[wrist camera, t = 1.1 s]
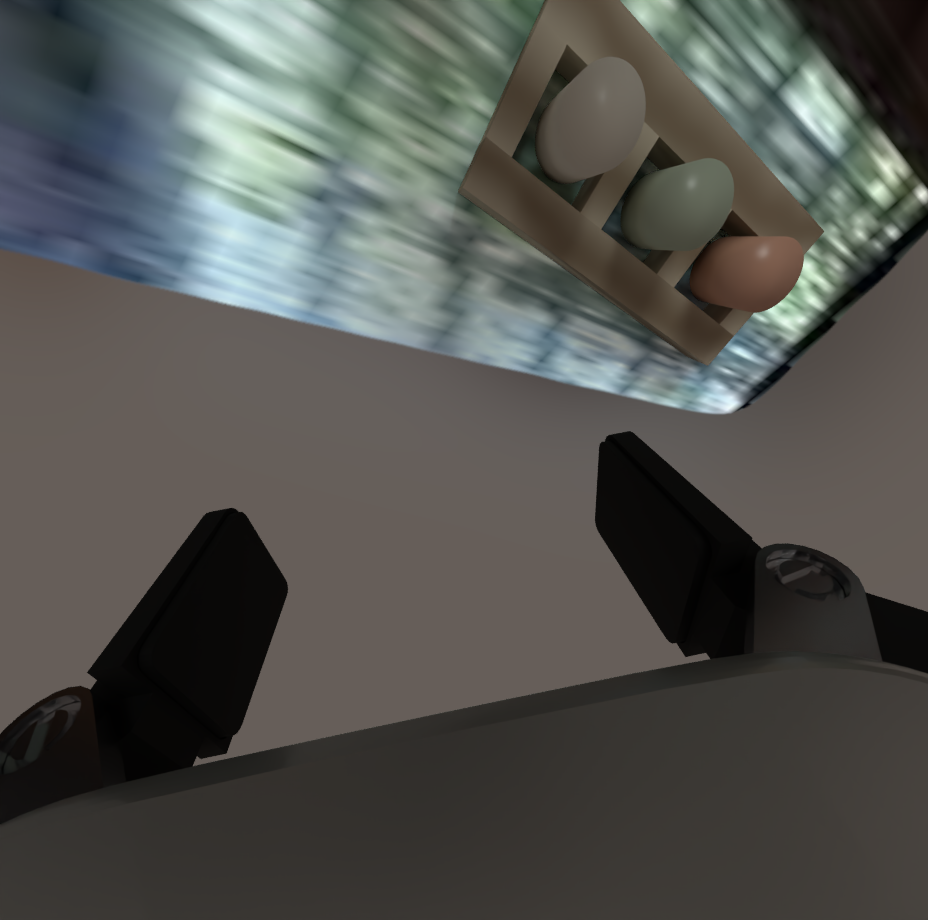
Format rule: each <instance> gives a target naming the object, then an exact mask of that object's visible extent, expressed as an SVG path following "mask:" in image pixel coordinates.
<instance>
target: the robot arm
mask: <svg viewBox="0 0 928 920" xmlns="http://www.w3.org/2000/svg"><path fill="white" fill-rule="evenodd" d="M595 523H596V527H597V530H598V532H599V533H600V535H601V537H602V538H603V540H604V541H605V543H606V544H607V546H608V548H609V549H610V551H611V552H612V554H613V556H614V557H615V559H616V560H617V562H618V563H619V565H620V567H621V568H622V570H623V571H624V573H625V574H626V576H627V578H628V579H629V581H630V582H631V584H632V585H633V587H634V589H635V590H636V592H637V593H638V595H639V597H640V598H641V599H642V601H643V603H644V604H645V606H646V607H647V609H648V611H649V612H650V614H651V615H652V617H653V619H654V620H655V622H656V623H657V625H658V626H659V628H660V630H661V631H662V633H663V634H664V636H665V637H666V639H667V640H668V641H669V642H671V643H677V644H678V646H679V648H680V649H681V651H682V652H683V654H684V655H685V657H688V656H692V655H697V654H702V653H707V655H708V656H709V657H710V660H703V661H698V662H693V663H688V664H682V665H677V666H671V667H666V668H661V669H656V670H650V671H644V672H639V673H633V674H629V675H624V676H619V677H614V678H609V679H604V680H599V681H595V682H589V683H585V684H580V685H575V686H570V687H565V688H560V689H555V690H550V691H545V692H541V693H536V694H531V695H526V696H521V697H516V698H511V699H506V700H502V701H497V702H492V703H487V704H482V705H478V706H473V707H468V708H463V709H459V710H454V711H449V712H444V713H440V714H435V715H430V716H425V717H421V718H416V719H411V720H406V721H402V722H397V723H392V724H388V725H383V726H378V727H374V728H369V729H364V730H359V731H354V732H350V733H345V734H340V735H335V736H331V737H326V738H321V739H317V740H312V741H307V742H303V743H298V744H294V745H289V746H284V747H280V748H275V749H270V750H266V751H261V752H257V753H252V754H248V755H243V756H238V757H234V758H229V759H224V760H220V761H215V762H211V763H206V764H201V765H197V766H193V764H194V761H195V759H196V756H198V757H199V758H201V759H203V758H207V757H212V756H217V755H222V754H226V753H227V751H228V748H229V745H230V742H231V739H232V737H233V735H235V734H236V733H237V732H238V731H239V729H240V728H241V725H242V723H243V720H244V717H245V714H246V711H247V709H248V706H249V703H250V700H251V697H252V694H253V691H254V688H255V686H256V682H257V680H258V677H259V674H260V671H261V668H262V665H263V663H264V660H265V657H266V654H267V651H268V648H269V645H270V642H271V639H272V636H273V634H274V631H275V628H276V625H277V622H278V619H279V617H280V614H281V611H282V608H283V605H284V602H285V599H286V596H287V593H288V585H287V582H286V580H285V578H284V576H283V575H282V573H281V571H280V570H279V568H278V566H277V565H276V563H275V562H274V560H273V558H272V557H271V555H270V553H269V552H268V550H267V549H266V547H265V545H264V544H263V542H262V540H261V539H260V537H259V536H258V534H257V532H256V531H255V530H254V527H253V526H252V524H251V522H250V521H249V519H248V518H247V516H246V515H245V514H244V513H243V512H238V511H237V510H236V509H234V508H229V509H223V510H218V511H213V512H209V513H206V514H205V515H204V516H203V518H202V519H201V520H200V522H199V523H198V524H197V526H196V527H195V528H194V530H193V531H192V532H191V534H190V535H189V536H188V538H187V539H186V540H185V542H184V543H183V544H182V546H181V547H180V549H179V550H178V551H177V552H176V554H175V555H174V557H173V558H172V559H171V561H170V562H169V563H168V565H167V566H166V567H165V569H164V570H163V571H162V573H161V574H160V575H159V577H158V578H157V579H156V581H155V582H154V584H153V585H152V586H151V587H150V589H149V590H148V591H147V593H146V594H145V595H144V597H143V598H142V599H141V601H140V602H139V604H138V605H137V606H136V608H135V609H134V610H133V612H132V613H131V614H130V616H129V617H128V618H127V620H126V621H125V622H124V624H123V625H122V627H121V628H120V629H119V630H118V632H117V633H116V635H115V636H114V637H113V638H112V640H111V641H110V642H109V644H108V645H107V647H106V648H105V649H104V651H103V652H102V653H101V655H100V656H99V657H98V659H97V660H96V661H95V663H94V664H93V665H92V667H91V668H90V669H89V671H88V672H87V673H88V674H90V675H91V676H92V677H94V678H95V679H96V680H97V681H96V683H95V684H94V686H93V687H92V688H91V690H90V689H88V688H85V687H82V686H76V687H68V688H66V689H63V690H61V691H58V692H55V693H53V694H51V695H50V696H48V697H46V698H45V699H42V700H41V701H39V702H37V703H36V704H35V705H33V706H32V707H30V708H29V709H28V710H26V711H25V712H23V713H22V714H21V715H20V716H19V717H17V718H16V719H15V720H14V721H13V722H12V723H11V724H10V725H8V726H7V727H6V728H5V729H4V730H3V731H2V733H1V734H0V920H928V612H926V611H923V610H920V609H917V608H914V607H910V606H907V605H904V604H901V603H897V602H894V601H891V600H888V599H885V598H882V597H878V596H875V595H871V594H868V593H866V592H865V590H864V587H863V586H862V584H861V582H860V580H859V578H858V577H857V576H856V575H855V574H854V573H853V572H852V571H851V570H850V569H849V568H848V567H847V566H845V565H844V564H842V563H841V562H839V561H838V560H837V559H835V558H833V557H831V556H829V555H827V554H824V553H823V552H820V551H818V550H815V549H812V548H808V547H805V546H800V545H794V544H773V545H769V546H766V547H764V548H761V547H760V546H758V545H757V544H756V543H755V542H754V541H753V540H752V537H751V536H750V535H749V534H747V533H746V532H745V531H744V530H743V529H742V528H741V527H739V526H738V525H737V524H736V523H735V522H734V521H732V519H730V518H729V517H728V516H727V515H726V514H725V513H724V512H722V511H721V510H720V509H719V508H718V507H717V506H716V505H715V504H713V503H712V502H711V501H710V500H709V499H708V498H706V497H705V496H704V495H703V494H702V493H701V492H700V491H699V490H698V489H696V488H695V487H694V486H693V485H692V484H690V482H688V481H687V480H686V479H685V478H684V477H683V476H682V475H681V474H679V473H678V472H677V471H676V470H675V469H674V468H672V467H671V466H670V465H669V464H668V463H667V462H666V461H664V459H662V458H661V457H660V456H659V455H658V454H657V453H656V452H654V451H653V450H652V449H651V448H650V447H649V446H647V444H645V443H644V442H643V441H642V440H641V439H640V438H638V437H637V436H636V435H635V434H634V433H633V432H631V431H628V432H623V433H617V434H613V435H608V436H607V437H606V439H605V442H601V443H600V447H599V461H598V478H597V495H596V512H595Z"/></svg>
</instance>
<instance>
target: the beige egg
mask: <svg viewBox="0 0 928 920" xmlns="http://www.w3.org/2000/svg"><path fill="white" fill-rule="evenodd" d="M645 110H646V100H645V92H644V87H643V84H642V81H641V79H640V76H639V75H638V73H637V71H636V70H635V69H634V67H633V66H632V65H631V64H629V63H628V62H627V61H625V60H623V59H621V58H617V57H605V58H600V59H598V60H596V61H594V62H592V63H591V64H589V65H588V66H587V67H586V68H584V69H583V70H582V71H581V72H580V73H579V74H578V75H577V76H576V77H575V78H574V79H573V80H572V81H571V82H570V83H569V84H568V85H567V86H566V87H565V88H564V89H563V90H562V91H561V92H560V93H559V94H558V95H556V96H555V97H554V98H553V99H552V100H551V102H550V103H549V104H548V105H547V106H546V108H545V109H544V111H543V113H542V115H541V117H540V119H539V122H538V125H537V129H536V134H535V152H536V157H537V161H538V163H539V166H540V168H541V169H542V171H543V172H544V174H545V175H546V176H547V177H548V178H549V179H551V180H552V181H554V182H556V183H560V184H571V183H575V182H578V181H581V180H584V179H587V178H590V177H593V176H596V175H599V174H602V173H605V172H607V171H610V170H612V169H614V168H615V167H617V166H618V165H619V164H621V163H622V162H623V161H624V160H625V159H626V158H627V156H628V155H629V154H630V153H631V151H632V150H633V148H634V146H635V145H636V143H637V141H638V139H639V136H640V134H641V131H642V128H643V123H644V119H645Z"/></svg>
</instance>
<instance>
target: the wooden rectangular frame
mask: <svg viewBox="0 0 928 920" xmlns="http://www.w3.org/2000/svg"><path fill="white" fill-rule="evenodd" d="M605 57H617V58H621V59H623V60H625V61H627V62H628V63H629V64H631V65H632V66H633V67H634V69H635V70H636V71H637V73H638V75H639V76H640V79H641V81H642V84H643V87H644V92H645V100H646V110H645V119H644V123H643V128H642V131H641V134H640V136H639V139H638V141H637V143H636V145H635V146H634V148H633V150H632V151H631V153H630V154H629V155H628V156H627V158H626V159H625V160H624V161H623V162H622V163H621V164H619V165H618V166H617V167H615V168H614V169H612V170H610V171H607V172H605V173H602V174H599V175H596V176H593V177H590V178H587V179H586V180H585V182H584V184H583V185H582V187H581V189H580V191H579V192H578V194H577V196H576V198H575V199H574V201H573V203H572V205H570V204H569V203H568V202H567V201H565V200H564V199H563V198H562V197H560V196H559V195H558V194H557V193H555V192H554V191H553V190H552V189H550V188H549V187H548V186H547V185H545V184H544V183H543V182H542V181H540V180H539V179H538V178H537V177H535V176H534V175H533V174H532V173H530V172H529V171H528V170H527V169H525V168H524V167H523V166H522V165H520V164H519V163H518V162H517V161H516V160H514V159H513V158H512V155H513V153H514V151H515V149H516V147H517V145H518V143H519V141H520V139H521V137H522V135H523V133H524V131H525V129H526V127H527V125H528V123H529V121H530V119H531V117H532V115H533V113H534V111H535V109H536V107H537V105H538V103H539V101H540V99H541V97H542V95H543V92H544V90H545V88H546V86H547V84H548V82H549V80H550V78H551V76H552V74H553V72H554V70H555V69H556V70H557V71H558V72H559V73H560V74H561V75H562V76H563V77H564V78H565V79H566V80H567V81H568V82H569V83H570V82H571V81H572V80H573V79H574V78H575V77H576V76H577V75H578V74H579V73H580V72H581V71H582V70H583V69H584V68H586V67H587V66H588V65H589V64H591V63H592V62H594V61H596V60H598V59H600V58H605ZM646 157H648V158H649V159H650V160H651V161H652V162H653V163H654V164H655V165H656V166H657V167H658V168H659V169H660V170H663V169H666V168H670V167H674V166H678V165H681V164H685V163H689V162H693V161H696V160H700V159H704V158H713V159H717V160H719V161H721V162H723V163H724V164H725V165H726V166H727V167H728V169H729V170H730V172H731V174H732V177H733V182H734V197H733V203H732V206H731V209H730V212H729V215H728V217H727V219H726V221H725V222H724V224H723V226H722V227H721V228H722V229H723V230H724V231H725V232H726V233H727V234H728V235H729V236H786V237H791V238H794V239H795V240H797V241H798V242H799V244H800V245H801V247H802V250H803V255H804V254H805V253H806V252H807V251H808V250H809V249H810V247H811V246H812V245H813V244H814V243H815V242H816V240H817V239H818V238H819V237H820V236H821V235H822V234H823V232H824V231H823V229H822V228H821V227H820V226H819V225H818V224H817V223H816V222H815V220H814V219H813V218H812V217H811V216H810V215H809V214H808V213H807V211H806V210H805V209H804V208H803V207H802V206H801V205H800V203H799V202H798V201H797V200H796V199H795V198H794V197H793V196H792V194H791V193H790V192H789V191H788V190H787V189H786V188H785V187H784V185H783V184H782V183H781V182H780V181H779V180H778V179H777V177H776V176H775V175H774V174H773V173H772V172H771V171H770V170H769V168H768V167H767V166H766V165H765V164H764V163H763V162H762V161H761V159H760V158H759V157H758V156H757V155H756V154H755V153H754V152H753V150H752V149H751V148H750V147H749V146H748V145H747V144H746V142H745V141H744V140H743V139H742V138H741V137H740V136H739V135H738V133H737V132H736V131H735V130H734V129H733V128H732V127H731V126H730V124H729V123H728V122H727V121H726V120H725V119H724V118H723V116H722V115H721V114H720V113H719V112H718V111H717V110H716V109H715V107H714V106H713V105H712V104H711V103H710V102H709V101H708V100H707V98H706V97H705V96H704V95H703V94H702V93H701V92H700V91H699V89H698V88H697V87H696V86H695V85H694V84H693V83H692V81H691V80H690V79H689V78H688V77H687V76H686V75H685V74H684V72H683V71H682V70H681V69H680V68H679V67H678V66H677V65H676V63H675V62H674V61H673V60H672V59H671V58H670V57H669V55H668V54H667V53H666V52H665V51H664V50H663V49H662V48H661V46H660V45H659V44H658V43H657V42H656V41H655V40H654V39H653V37H652V36H651V35H650V34H649V33H648V32H647V31H646V30H645V28H644V27H643V26H642V25H641V24H640V23H639V22H638V20H637V19H636V18H635V17H634V16H633V15H632V14H631V13H630V11H629V10H628V9H627V8H626V7H625V6H624V5H623V4H622V2H621V1H620V0H545V1H544V3H543V6H542V8H541V10H540V12H539V14H538V17H537V19H536V21H535V23H534V25H533V28H532V30H531V32H530V34H529V36H528V39H527V41H526V43H525V45H524V47H523V50H522V52H521V54H520V56H519V58H518V61H517V63H516V65H515V67H514V69H513V72H512V74H511V76H510V78H509V80H508V83H507V85H506V87H505V89H504V91H503V94H502V96H501V98H500V100H499V102H498V105H497V107H496V109H495V111H494V113H493V116H492V118H491V120H490V122H489V124H488V127H487V129H486V131H485V133H484V135H483V138H482V140H481V142H480V144H479V146H478V149H477V151H476V153H475V155H474V157H473V160H472V162H471V164H470V166H469V168H468V171H467V173H466V175H465V177H464V179H463V182H462V184H461V186H460V188H459V190H458V193H460V194H461V195H463V196H464V197H465V198H467V199H468V200H470V201H471V202H472V203H474V204H475V205H477V206H478V207H479V208H481V209H482V210H484V211H485V212H486V213H488V214H489V215H490V216H492V217H493V218H495V219H496V220H497V221H499V222H500V223H502V224H503V225H504V226H506V227H507V228H509V229H510V230H511V231H513V232H514V233H516V234H517V235H518V236H520V237H521V238H523V239H524V240H525V241H527V242H528V243H529V244H531V245H532V246H534V247H535V248H536V249H538V250H539V251H541V252H542V253H543V254H545V255H546V256H548V257H549V258H550V259H552V260H553V261H555V262H556V263H557V264H559V265H560V266H562V267H563V268H564V269H566V270H567V271H568V272H570V273H571V274H573V275H574V276H575V277H577V278H578V279H580V280H581V281H582V282H584V283H585V284H587V285H588V286H589V287H591V288H592V289H594V290H595V291H596V292H598V293H599V294H601V295H602V296H603V297H605V298H606V299H607V300H609V301H610V302H612V303H613V304H614V305H616V306H617V307H619V308H620V309H621V310H623V311H624V312H626V313H627V314H628V315H630V316H631V317H633V318H634V319H635V320H637V321H638V322H640V323H641V324H642V325H644V326H645V327H646V328H648V329H649V330H651V331H652V332H653V333H655V334H656V335H658V336H659V337H660V338H662V339H663V340H665V341H666V342H667V343H669V344H670V345H672V346H673V347H674V348H676V349H677V350H679V351H680V352H681V353H683V354H684V355H685V356H687V357H689V358H691V359H694V360H696V361H698V362H701V363H703V364H705V365H709V364H710V363H711V362H712V360H713V359H714V358H715V357H716V356H717V355H718V354H719V352H720V351H721V350H722V349H723V348H724V347H725V345H726V344H727V343H728V342H729V341H730V340H731V339H732V337H733V336H734V335H735V334H736V333H737V332H738V330H739V329H740V328H741V327H742V326H743V325H744V324H745V322H746V321H747V320H748V319H749V318H750V317H751V315H752V314H753V312H747V311H743V310H738V309H734V308H729V307H725V306H720V305H716V304H711V303H709V304H708V305H707V306H706V307H705V308H704V310H703V311H702V310H701V309H700V308H698V307H697V306H696V305H695V304H693V303H692V302H691V301H690V300H688V299H687V298H686V297H685V296H684V295H682V294H681V293H680V292H679V291H677V290H676V289H675V288H674V287H675V285H676V284H677V283H678V281H679V280H680V279H681V277H682V276H683V275H684V273H685V272H686V271H687V269H688V268H689V267H690V265H691V264H692V263H693V261H694V260H695V259H696V257H697V256H698V255H699V253H700V252H701V251H702V249H703V248H704V247H705V245H706V244H707V243H708V242H707V243H706V244H704V245H703V246H701V247H699V248H697V249H694V250H690V251H671V250H651V252H650V253H649V255H648V256H647V257H646V259H645V260H644V262H643V263H642V262H641V261H640V260H639V259H637V258H636V257H635V256H634V255H632V254H631V253H630V252H629V251H628V250H626V249H625V248H624V247H623V246H621V245H620V244H619V243H618V242H616V241H615V240H614V239H613V238H611V237H610V236H609V235H608V234H606V233H605V232H604V231H603V230H601V229H602V227H603V226H604V224H605V222H606V221H607V219H608V218H609V216H610V214H611V213H612V211H613V210H614V208H615V206H616V205H617V203H618V202H619V200H620V198H621V197H622V195H623V194H624V192H625V190H626V189H627V187H628V186H629V184H630V182H631V181H632V179H633V178H634V176H635V174H636V173H637V171H638V170H639V168H640V166H641V165H642V163H643V162H644V160H645V158H646Z"/></svg>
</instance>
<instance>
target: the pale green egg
mask: <svg viewBox="0 0 928 920" xmlns="http://www.w3.org/2000/svg"><path fill="white" fill-rule="evenodd" d="M733 197H734V182H733V177H732V174H731V172H730V170H729V169H728V167H727V166H726V165H725V164H724V163H723V162H721V161H719V160H717V159H713V158H704V159H700V160H696V161H693V162H689V163H685V164H681V165H678V166H674V167H670V168H666V169H663V170H659V171H655V172H652V173H649V174H647V175H645V176H644V177H642V178H641V179H640V180H639V181H637V182H636V183H635V185H634V186H633V187H632V188H631V190H630V191H629V193H628V194H627V196H626V198H625V201H624V203H623V206H622V210H621V218H620V223H621V230H622V233H623V236H624V238H625V239H626V241H627V242H628V243H629V244H630V245H632V246H633V247H635V248H639V249H652V250H671V251H690V250H694V249H697V248H699V247H701V246H703V245H704V244H706V243H707V242H708V241H710V240H711V239H712V238H713V237H714V236H715V235H716V234H717V232H718V231H719V230H720V229H721V227H722V226H723V224H724V222H725V221H726V219H727V217H728V215H729V212H730V209H731V206H732V203H733Z"/></svg>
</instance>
